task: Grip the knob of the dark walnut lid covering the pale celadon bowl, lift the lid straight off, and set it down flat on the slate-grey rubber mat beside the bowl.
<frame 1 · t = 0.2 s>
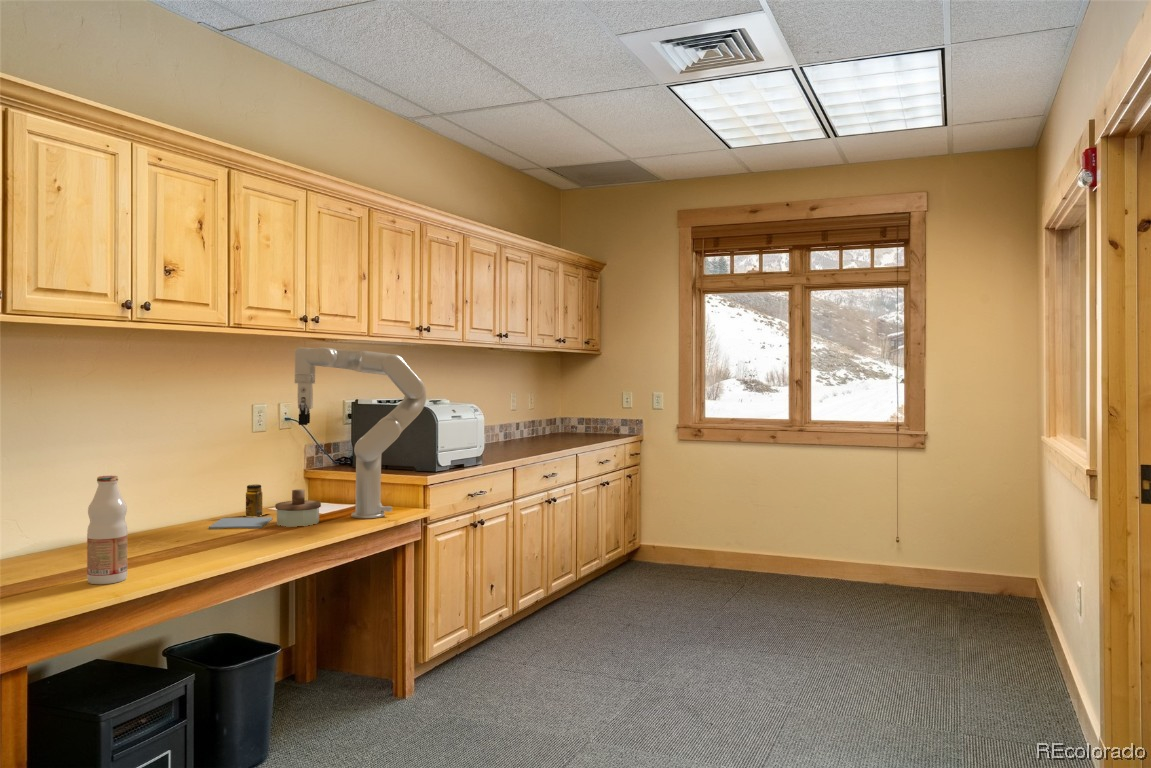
hand: (304, 424, 320), 36 cm above the table, tool pointing down, fingers open, 9 cm apart
fruit juice: (107, 581, 223), on the table
condiment: (255, 516, 323), on the table
bowl: (298, 523, 308), on the table
mat: (241, 524, 305), on the table
lid: (298, 507, 308), point 6 cm above the table, touching bowl
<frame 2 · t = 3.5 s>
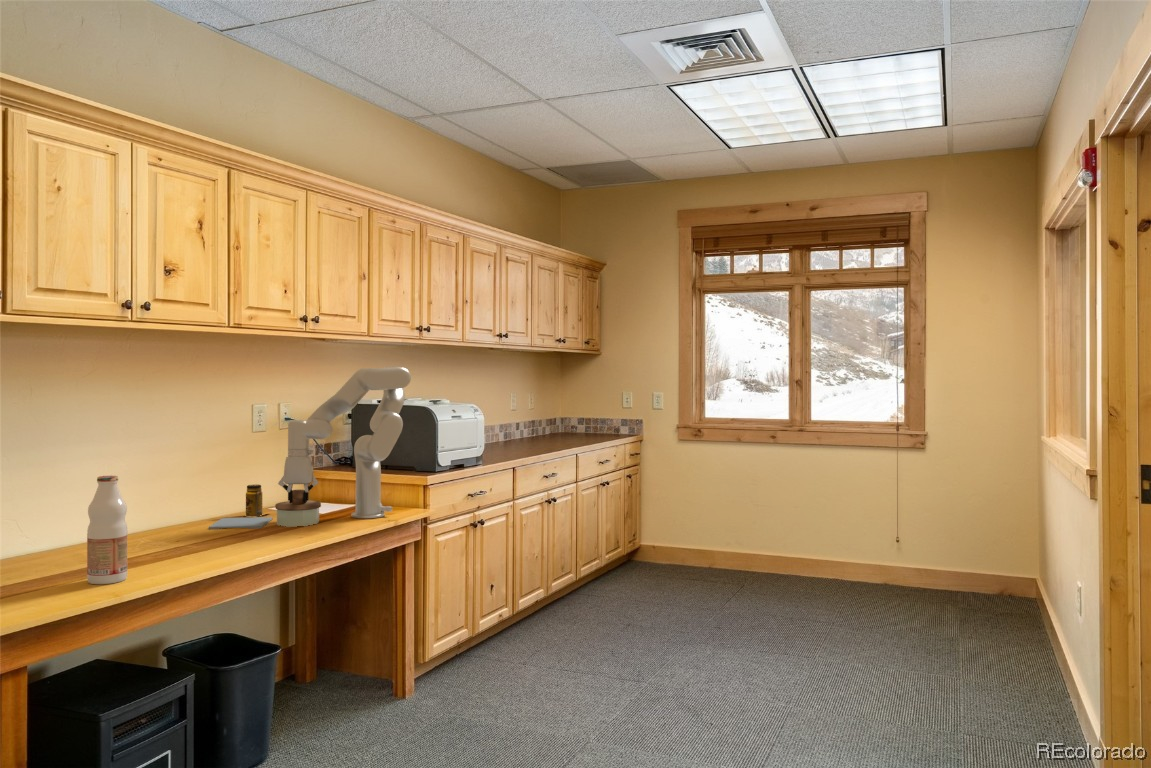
hand: (298, 502, 308), 8 cm above the table, tool pointing down, fingers closed on lid, 4 cm apart
lid: (298, 507, 308), point 6 cm above the table, touching bowl, gripper
everything else where it was.
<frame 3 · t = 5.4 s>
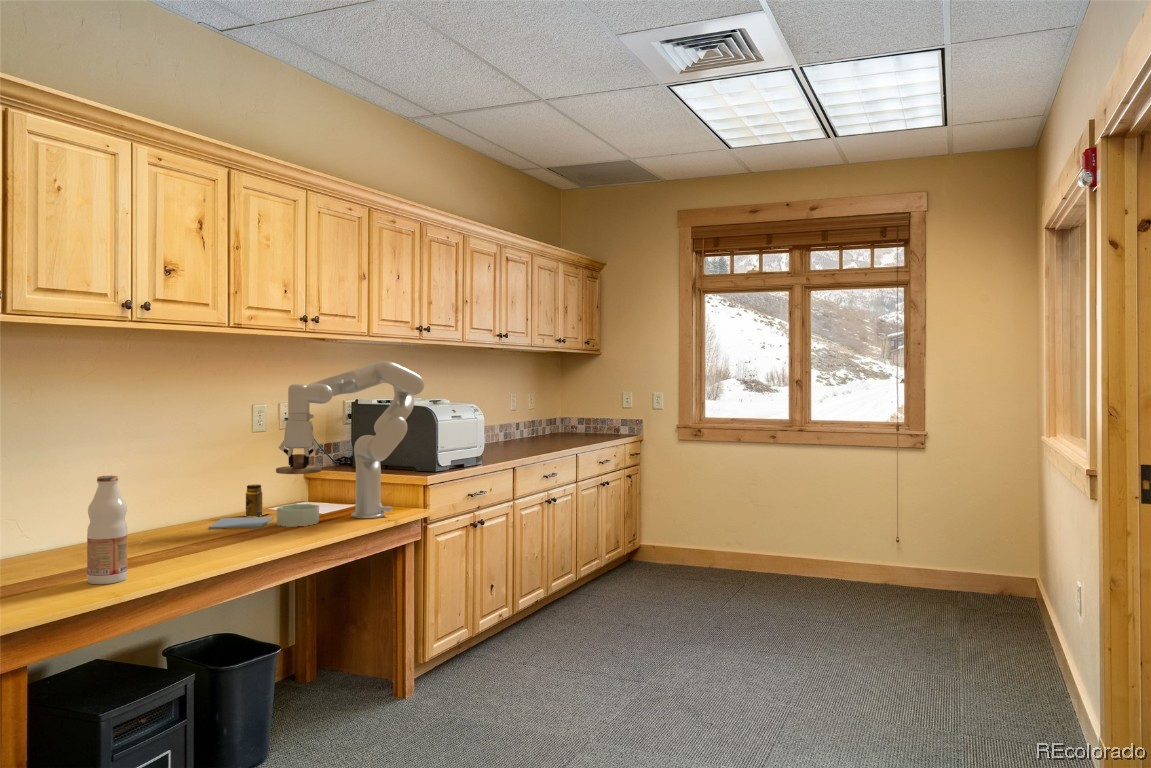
hand: (298, 466, 308), 21 cm above the table, tool pointing down, fingers closed on lid, 4 cm apart
lid: (298, 471, 308), point 19 cm above the table, touching gripper
everything else where it was.
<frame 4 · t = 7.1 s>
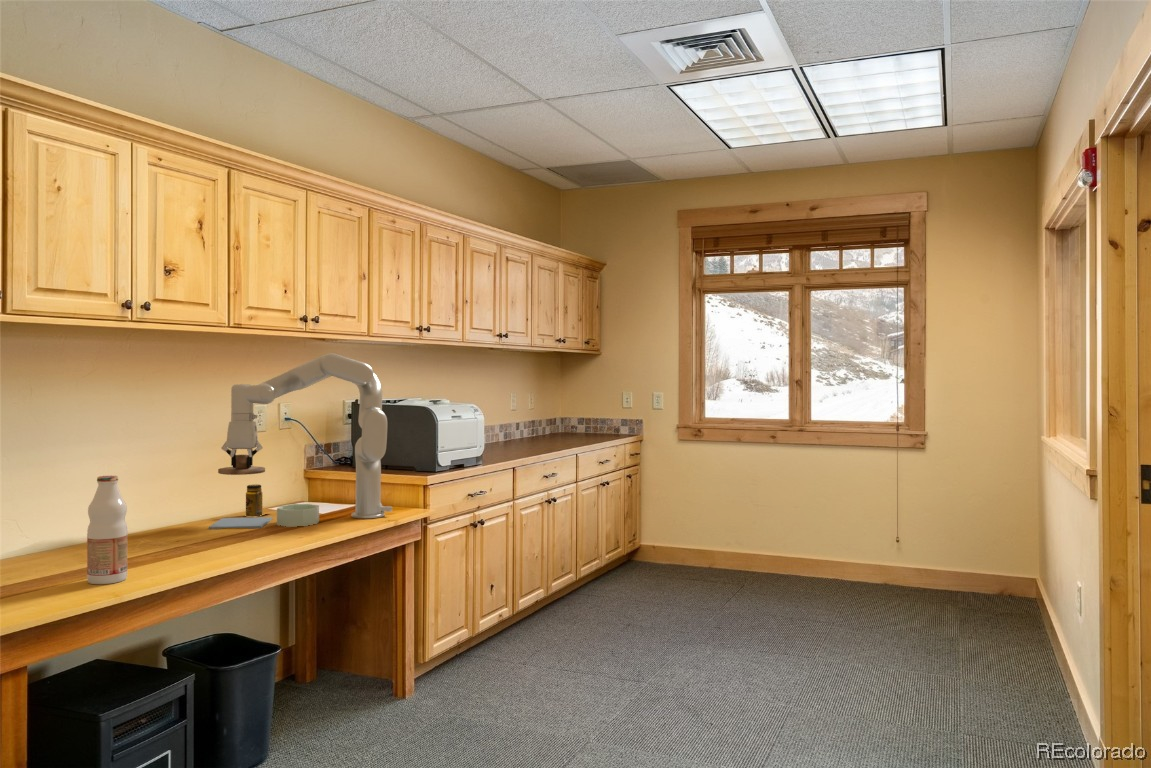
hand: (241, 467, 305), 21 cm above the table, tool pointing down, fingers closed on lid, 4 cm apart
lid: (241, 472, 305), point 19 cm above the table, touching gripper
everything else where it was.
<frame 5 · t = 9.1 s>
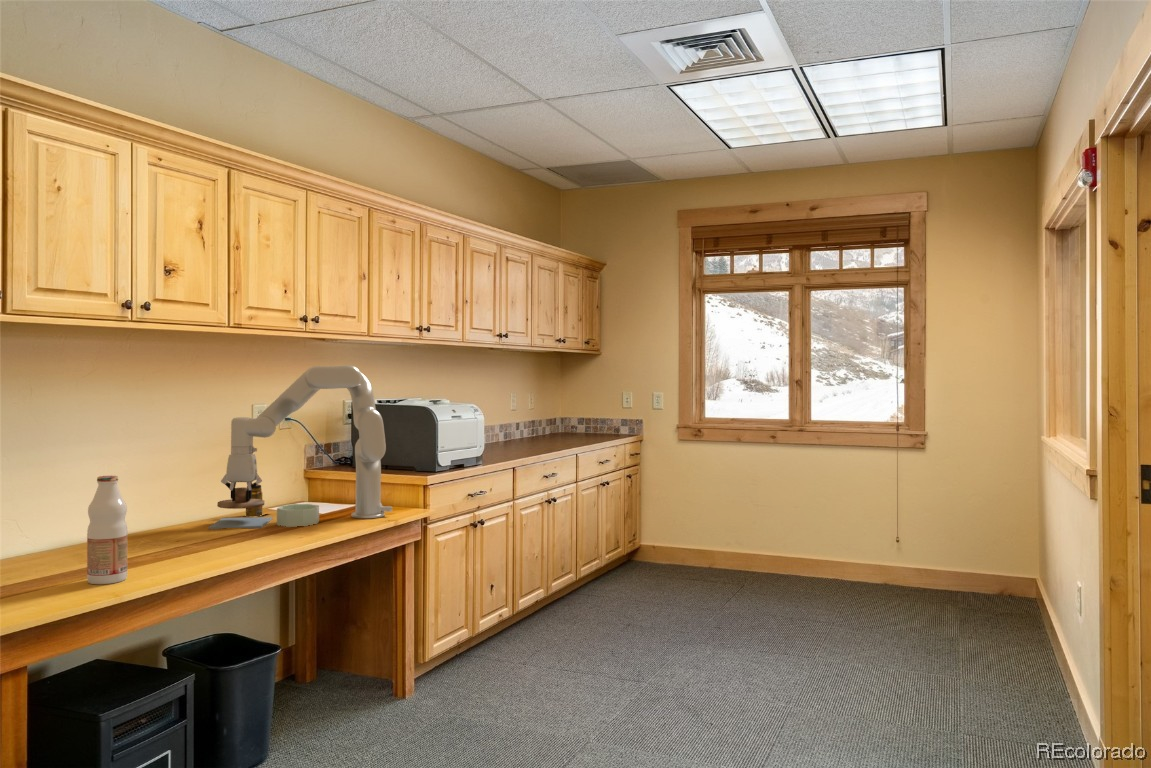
hand: (241, 500, 305), 9 cm above the table, tool pointing down, fingers closed on lid, 4 cm apart
lid: (241, 505, 305), point 7 cm above the table, touching gripper
everything else where it was.
when the fingers open (4 cm above the table, at t = 10.9 s): lid drops 1 cm, resting on mat.
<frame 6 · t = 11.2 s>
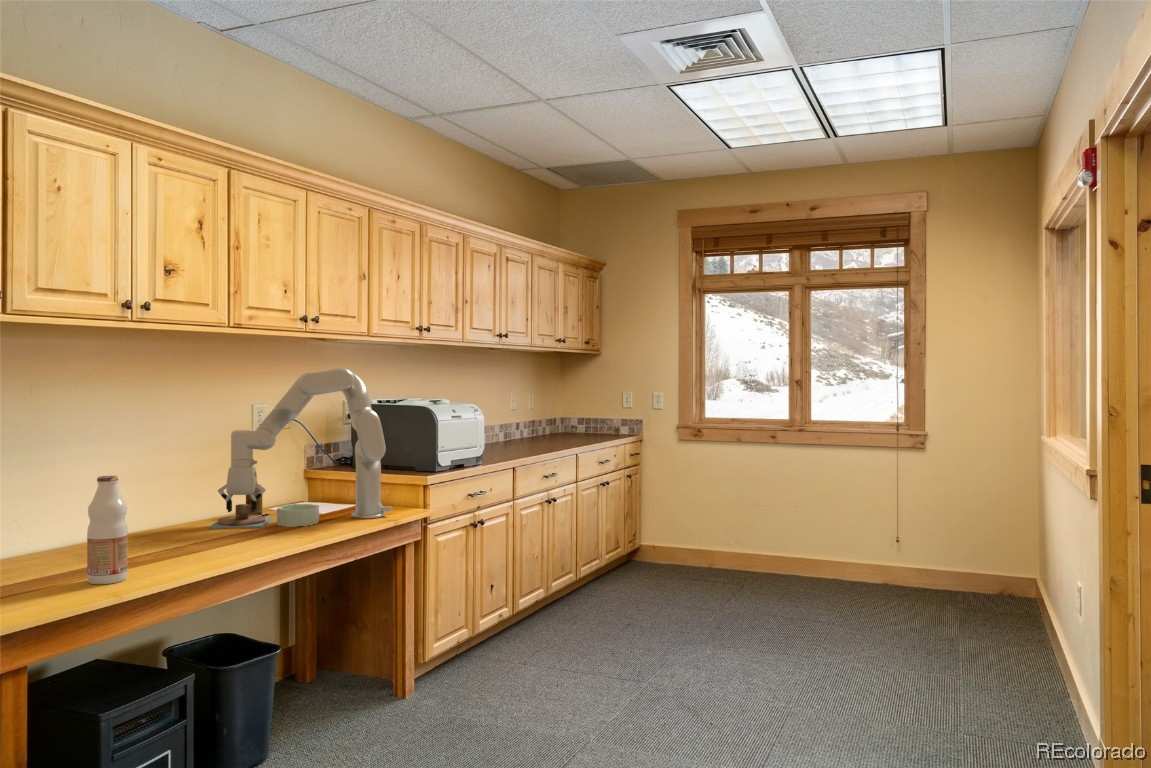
hand: (241, 511, 305), 5 cm above the table, tool pointing down, fingers open, 7 cm apart
lid: (241, 521, 305), point 1 cm above the table, touching mat
everything else where it was.
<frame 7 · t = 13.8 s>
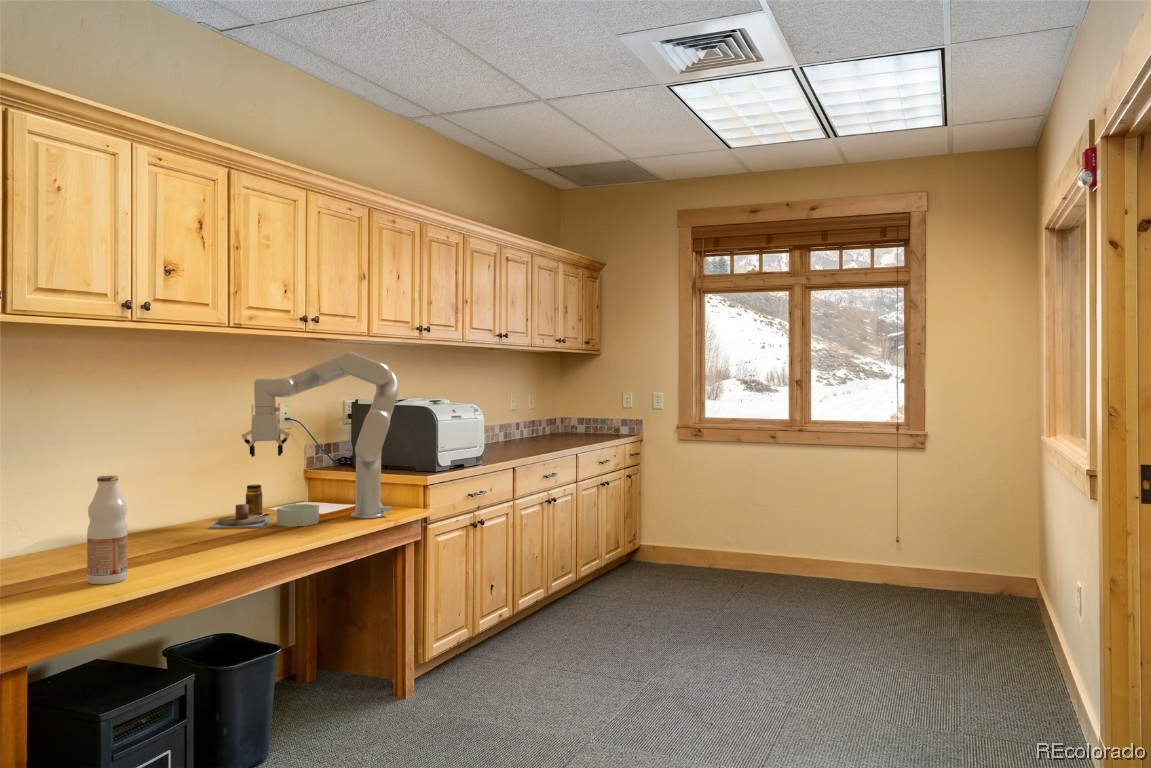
hand: (266, 455, 316), 24 cm above the table, tool pointing down, fingers open, 9 cm apart
nothing on the table moved.
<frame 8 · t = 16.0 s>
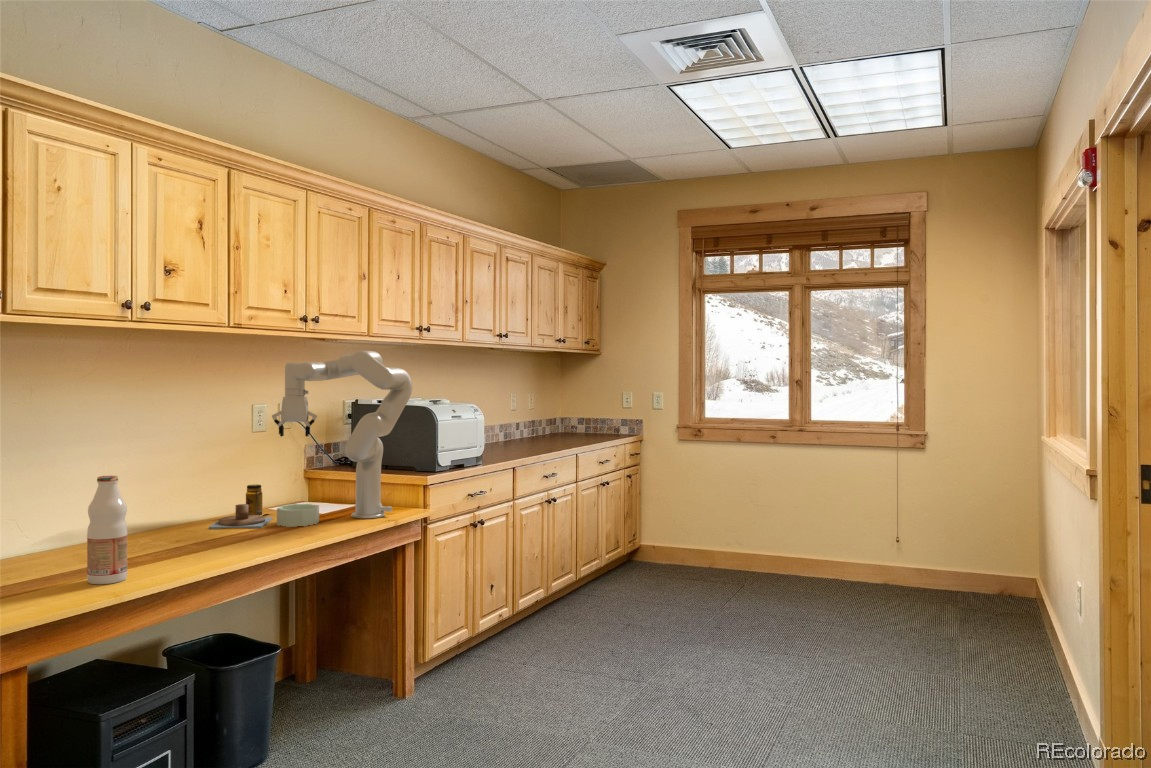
hand: (294, 436, 331), 30 cm above the table, tool pointing down, fingers open, 9 cm apart
nothing on the table moved.
at the end: lid inside the target area on the mat (0.1 cm from its centre), point 0.8 cm above the mat's base; lid tilted 0°; the gripper is holding nothing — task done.
